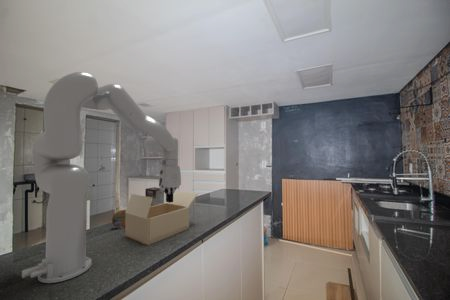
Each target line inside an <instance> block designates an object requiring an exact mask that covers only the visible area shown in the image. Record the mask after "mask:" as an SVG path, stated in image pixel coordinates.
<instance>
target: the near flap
mask: <svg viewBox="0 0 450 300" xmlns="http://www.w3.org/2000/svg"><path fill="white" fill-rule="evenodd" d="M152 199H153V198H151V197H146V196H145V195H140V194H135V193H130V197H129V200H128V203H127V206H126V207H125V208H126V209H125V210H126V211H125V213H128V214H131V215H135V216H138V217H142V218H145V219H147V215H148V212H149V209H150V206H151V202H152Z"/></svg>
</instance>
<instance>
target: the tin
mask: <svg viewBox="0 0 450 300" xmlns="http://www.w3.org/2000/svg"><path fill="white" fill-rule="evenodd" d="M125 211H126V209H121V210H119V211H116V212H115V213H114V214H113V216H112V218H111V222H112V225H113V227H114V228H116V229H118V230H119V229H125V218H126V213H125Z"/></svg>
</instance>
